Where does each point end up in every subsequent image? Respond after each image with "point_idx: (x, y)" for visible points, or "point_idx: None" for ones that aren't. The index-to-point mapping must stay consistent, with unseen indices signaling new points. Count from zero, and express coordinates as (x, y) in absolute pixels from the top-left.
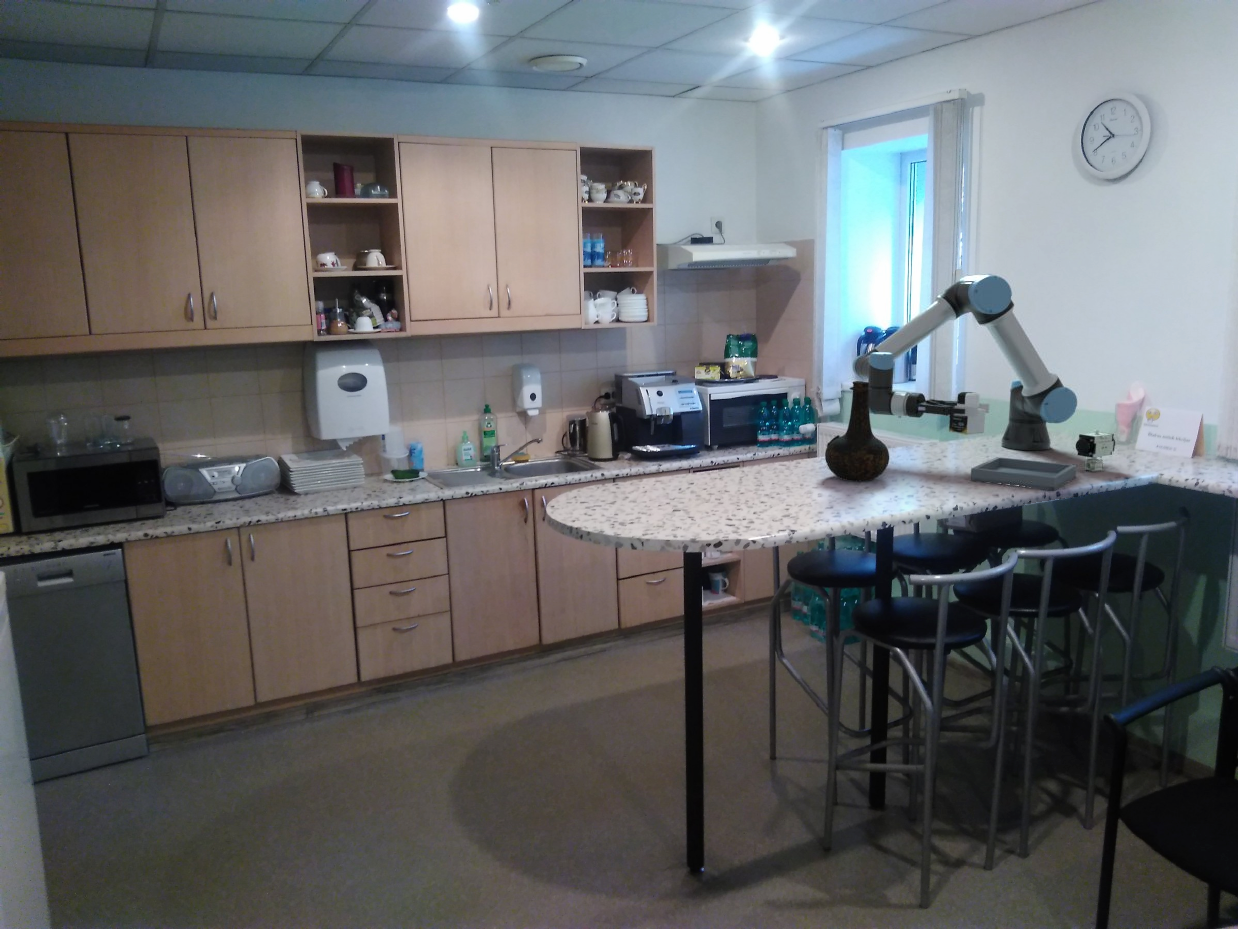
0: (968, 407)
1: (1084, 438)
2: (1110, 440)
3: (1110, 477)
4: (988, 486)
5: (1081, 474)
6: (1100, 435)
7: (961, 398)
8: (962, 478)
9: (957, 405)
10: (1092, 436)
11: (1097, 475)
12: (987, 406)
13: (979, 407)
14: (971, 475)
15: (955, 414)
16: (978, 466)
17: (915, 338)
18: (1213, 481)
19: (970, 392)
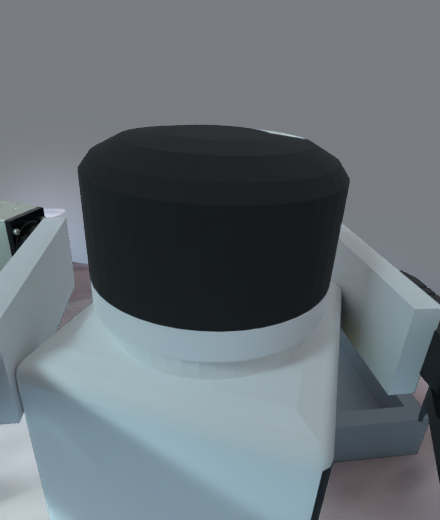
0: (363, 245)
1: (26, 224)
2: None
3: (87, 273)
4: (418, 386)
5: (78, 303)
6: (14, 203)
7: (343, 213)
8: (417, 496)
9: (303, 336)
10: (41, 208)
11: (75, 286)
12: (65, 241)
13: (52, 285)
14: (421, 436)
15: (406, 377)
16: (371, 416)
17: None
18: (47, 214)
19: (204, 129)
